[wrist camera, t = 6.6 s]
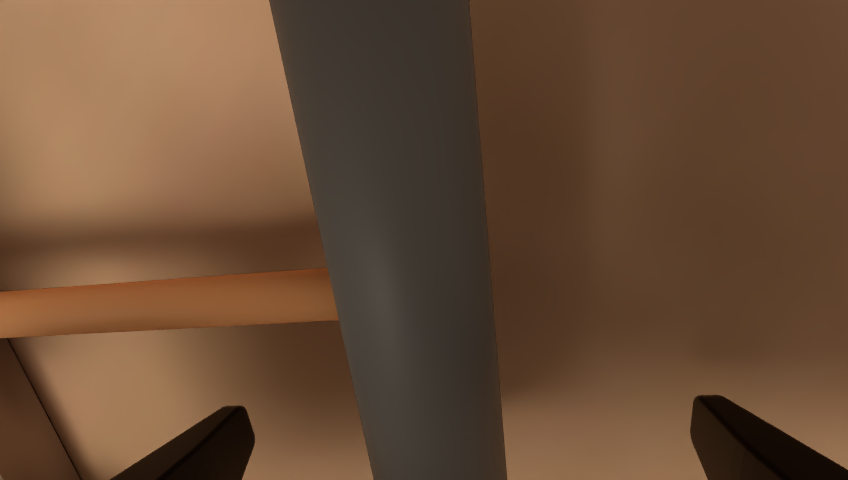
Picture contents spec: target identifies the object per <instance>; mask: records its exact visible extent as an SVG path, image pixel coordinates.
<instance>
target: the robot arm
mask: <svg viewBox="0 0 848 480" xmlns="http://www.w3.org/2000/svg"><path fill="white" fill-rule="evenodd" d="M690 433H691V439H692V443H693V445H694V448H695V450H696V452H697V455H698V457H699V460H700V462H701V464H702V467H703V469H704V471H705V474H706V476H707V478H708V480H848V470H847V469H845V468H844V467H842V466H840V465H839V464H837V463H835V462H834V461H832V460H830V459H829V458H827V457H825V456H823V455H822V454H820V453H818V452H817V451H815V450H813V449H812V448H810V447H808V446H806V445H805V444H803V443H801V442H800V441H798V440H796V439H795V438H793V437H791V436H790V435H788V434H786V433H784V432H783V431H781V430H779V429H778V428H776V427H774V426H773V425H771V424H769V423H767V422H766V421H764V420H762V419H761V418H759V417H757V416H756V415H754V414H752V413H750V412H749V411H747V410H745V409H744V408H742V407H740V406H739V405H737V404H735V403H734V402H732V401H730V400H728V399H727V398H725V397H723V396H720V395H699V396H696V397H695V399H694V402H693V409H692V419H691V428H690ZM254 443H255V435H254V432H253V429H252V426H251V422H250V419H249V416H248V413H247V411H246V409H245V408H244V407H243V406H225V407H222V408H221V409H219V410H218V411H216V412H214V413H213V414H211V415H210V416H208V417H207V418H205V419H203V420H202V421H200V422H199V423H197V424H196V425H194V426H193V427H191V428H189V429H188V430H186V431H185V432H183V433H182V434H180V435H179V436H177V437H175V438H174V439H172V440H171V441H169V442H168V443H166V444H165V445H163V446H161V447H160V448H158V449H157V450H155V451H154V452H152V453H151V454H149V455H147V456H146V457H144V458H143V459H141V460H140V461H138V462H137V463H135V464H133V465H132V466H130V467H129V468H127V469H126V470H124V471H122V472H121V473H119V474H118V475H116V476H115V477H113V478H112V479H110V480H242V477H243V475H244V472H245V469H246V467H247V464H248V461H249V458H250V456H251V453H252V450H253V447H254Z"/></svg>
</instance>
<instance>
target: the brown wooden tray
mask: <svg viewBox="0 0 848 480" xmlns="http://www.w3.org/2000/svg"><path fill="white" fill-rule="evenodd" d="M0 480H80V478H79V476H78V474H77V472H76V471H75V469H74V467H73V465H72V463H71V461H70V459H69V457H68V455H67V453H66V451H65V449H64V448H63V446H62V444H61V442H60V440H59V438H58V436H57V434H56V432H55V430H54V428H53V427H52V425H51V423H50V421H49V419H48V417H47V415H46V413H45V411H44V409H43V407H42V405H41V404H40V402H39V400H38V398H37V396H36V394H35V392H34V390H33V388H32V386H31V384H30V383H29V381H28V379H27V377H26V375H25V373H24V371H23V369H22V367H21V365H20V363H19V362H18V360H17V358H16V356H15V354H14V352H13V350H12V348H11V346H10V344H9V342H8V340H7V339H6V338H0Z"/></svg>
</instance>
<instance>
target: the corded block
mask: <svg viewBox="0 0 848 480" xmlns="http://www.w3.org/2000/svg"><path fill="white" fill-rule="evenodd" d="M269 2H270V7H271V11H272V16H273V20H274V25H275V29H276V34H277V39H278V43H279V48H280V52H281V57H282V61H283V66H284V71H285V75H286V80H287V84H288V89H289V94H290V98H291V103H292V107H293V112H294V116H295V121H296V126H297V130H298V135H299V139H300V144H301V149H302V153H303V158H304V162H305V167H306V171H307V176H308V181H309V185H310V190H311V194H312V199H313V204H314V208H315V213H316V217H317V222H318V226H319V231H320V236H321V240H322V245H323V249H324V254H325V259H326V263H327V268H318V269H304V270H290V271H277V272H263V273H250V274H236V275H222V276H209V277H195V278H181V279H168V280H154V281H140V282H127V283H113V284H100V285H86V286H72V287H59V288H45V289H31V290H18V291H4V292H0V338H14V337H33V336H51V335H70V334H89V333H107V332H126V331H145V330H163V329H182V328H201V327H219V326H238V325H257V324H275V323H294V322H312V321H331V320H339V323H340V327H341V332H342V336H343V341H344V346H345V350H346V355H347V359H348V364H349V369H350V373H351V378H352V382H353V387H354V391H355V396H356V401H357V405H358V410H359V414H360V419H361V423H362V428H363V433H364V437H365V442H366V446H367V451H368V456H369V460H370V465H371V469H372V474H373V478H374V480H507V471H506V458H505V446H504V433H503V421H502V408H501V395H500V383H499V370H498V358H497V345H496V333H495V320H494V308H493V295H492V282H491V270H490V257H489V245H488V232H487V220H486V207H485V195H484V182H483V170H482V157H481V144H480V132H479V119H478V107H477V94H476V82H475V69H474V57H473V44H472V32H471V19H470V6H469V0H269Z"/></svg>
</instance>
